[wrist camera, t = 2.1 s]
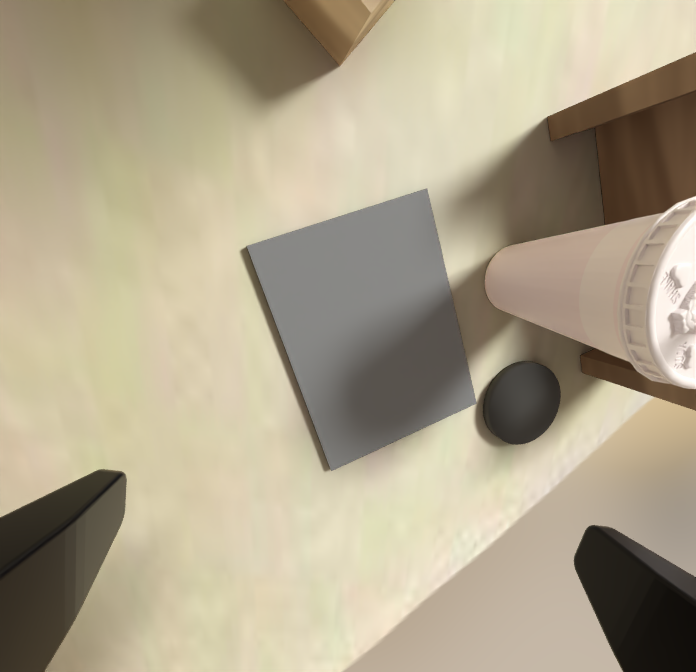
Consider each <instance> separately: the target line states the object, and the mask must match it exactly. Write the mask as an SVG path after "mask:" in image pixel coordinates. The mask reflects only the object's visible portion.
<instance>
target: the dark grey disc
mask: <svg viewBox="0 0 696 672" xmlns="http://www.w3.org/2000/svg"><path fill="white" fill-rule="evenodd" d="M559 404H560V386H559V382H558V380H557V378H556V376H555V375H554V373H553V372H552V371H551V370H550V369H548V368H547V367H545V366H542V365H540V364H537V363H534V362H529V361H522V362H517V363H514V364H512V365H509V366H508V367H506V368H505V369H503V370H502V371H501V372H500V373H499V374H498V375H497V376H496V377H495V378H494V379H493V381H492V382H491V384H490V386H489V388H488V390H487V392H486V395H485V399H484V405H483V413H484V419H485V422H486V425H487V426H488V428H489V430H490V431H491V432H492V433H493V434H494V435H496V436H497V437H499V438H500V439H501V440H503V441H505V442H507V443H510V444H525V443H528V442H531V441H533V440H535V439H536V438H538V437H539V436H540V435H542V434H543V433H544V432H545V431H546V430H547V429H548V427H549V426H550V425H551V423H552V422H553V420H554V418H555V416H556V414H557V412H558V408H559Z"/></svg>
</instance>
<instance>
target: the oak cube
mask: <svg viewBox="0 0 696 672" xmlns="http://www.w3.org/2000/svg"><path fill="white" fill-rule="evenodd" d="M283 1H284V2H285V3H286V4H287V5H288V7H289V8H290V9H291V10H292V11H293V12H294V13H295V15H296V16H297V17H298V18H299V19H300V20H301V22H302V23H303V24H304V25H305V26H306V27H307V29H308V30H309V31H310V32H311V33H312V34H313V35H314V37H315V38H316V39H317V40H318V41H319V42H320V44H321V45H322V46H323V47H324V48H325V49H326V51H327V52H328V53H329V54H330V55H331V56H332V57H333V59H334V60H335V61H336V62H337V63H338V64H339V66H341V64H342V63H343V62H344V61H345V60H346V58H347V57H348V56H349V55H350V54H351V52H352V51H353V50H354V49H355V48H356V46H357V45H358V44H359V43H360V42H361V40H362V39H363V38H364V37H365V36H366V34H367V33H368V32H369V31H370V30H371V29H372V27H373V26H374V25H375V24H376V23H377V21H378V20H379V19H380V18H381V17H382V15H383V14H384V13H385V12H386V11H387V9H388V8H389V7H390V6H391V5H392V3H393V2H394V1H395V0H283Z"/></svg>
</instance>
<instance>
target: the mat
mask: <svg viewBox="0 0 696 672" xmlns="http://www.w3.org/2000/svg"><path fill="white" fill-rule="evenodd" d="M247 249H248V252H249V254H250V257H251V260H252V262H253V265H254V268H255V270H256V273H257V275H258V278H259V281H260V283H261V286H262V289H263V291H264V294H265V297H266V299H267V302H268V305H269V307H270V310H271V313H272V315H273V318H274V321H275V323H276V326H277V329H278V331H279V334H280V337H281V339H282V342H283V345H284V347H285V350H286V353H287V355H288V358H289V360H290V363H291V366H292V368H293V371H294V374H295V376H296V379H297V382H298V384H299V387H300V390H301V392H302V395H303V398H304V400H305V403H306V406H307V408H308V411H309V414H310V416H311V419H312V422H313V424H314V427H315V430H316V432H317V435H318V438H319V440H320V443H321V445H322V448H323V451H324V453H325V456H326V459H327V461H328V464H329V467H330V469H331V471H333V470H335V469H337V468H339V467H341V466H343V465H346V464H348V463H350V462H352V461H354V460H356V459H358V458H361V457H363V456H365V455H367V454H369V453H371V452H373V451H376V450H378V449H380V448H382V447H384V446H386V445H388V444H391V443H393V442H395V441H397V440H399V439H401V438H403V437H406V436H408V435H410V434H412V433H414V432H416V431H418V430H421V429H423V428H425V427H427V426H429V425H431V424H433V423H436V422H438V421H440V420H442V419H444V418H446V417H448V416H451V415H453V414H455V413H457V412H459V411H461V410H464V409H466V408H468V407H470V406H472V405H474V404H476V399H475V394H474V390H473V386H472V381H471V377H470V373H469V368H468V364H467V359H466V355H465V351H464V346H463V342H462V338H461V333H460V329H459V325H458V320H457V316H456V312H455V307H454V303H453V299H452V294H451V290H450V286H449V281H448V277H447V273H446V268H445V264H444V260H443V255H442V251H441V247H440V242H439V238H438V234H437V229H436V225H435V221H434V216H433V212H432V208H431V203H430V199H429V195H428V190H427V189H424V190H421V191H417V192H414V193H411V194H408V195H405V196H402V197H399V198H396V199H392V200H389V201H386V202H383V203H380V204H377V205H374V206H371V207H367V208H364V209H361V210H358V211H355V212H352V213H349V214H346V215H342V216H339V217H336V218H333V219H330V220H327V221H324V222H321V223H317V224H314V225H311V226H308V227H305V228H302V229H299V230H296V231H292V232H289V233H286V234H283V235H280V236H277V237H274V238H271V239H267V240H264V241H261V242H258V243H255V244H252V245H249V246H247Z"/></svg>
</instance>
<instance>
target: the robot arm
mask: <svg viewBox="0 0 696 672" xmlns="http://www.w3.org/2000/svg"><path fill="white" fill-rule="evenodd" d="M126 482H127V479H126V474H125V473H124V472H122V471H114V470H105V469H101V470H97V471H95V472H93V473H91V474H89V475H87V476H85V477H83V478H80V479H78V480H76V481H74V482H72V483H70V484H68V485H66V486H64V487H62V488H60V489H58V490H56V491H54V492H52V493H50V494H48V495H46V496H44V497H41V498H39V499H37V500H35V501H33V502H31V503H29V504H27V505H25V506H23V507H21V508H19V509H17V510H15V511H13V512H11V513H9V514H7V515H5V516H2V517H0V672H44V671H45V670H46V668H47V666H48V665H49V663H50V661H51V660H52V658H53V656H54V655H55V653H56V651H57V650H58V648H59V646H60V645H61V643H62V641H63V640H64V638H65V636H66V635H67V633H68V631H69V629H70V628H71V626H72V624H73V622H74V621H75V619H76V617H77V615H78V613H79V611H80V609H81V607H82V605H83V603H84V601H85V599H86V597H87V595H88V593H89V591H90V588H91V586H92V584H93V582H94V580H95V578H96V576H97V574H98V572H99V570H100V568H101V566H102V564H103V561H104V559H105V557H106V555H107V553H108V551H109V549H110V547H111V545H112V543H113V541H114V539H115V537H116V534H117V532H118V530H119V528H120V526H121V524H122V521H123V518H124V513H125V500H126ZM574 566H575V570H576V572H577V574H578V577H579V579H580V581H581V583H582V585H583V588H584V590H585V592H586V594H587V596H588V599H589V601H590V603H591V605H592V607H593V610H594V611H595V614H596V616H597V619H598V621H599V623H600V625H601V627H602V629H603V632H604V634H605V636H606V638H607V640H608V643H609V645H610V647H611V649H612V651H613V653H614V655H615V657H616V659H617V661H618V663H619V665H620V667H621V668H622V670H623V672H696V577H694V576H693V575H691V574H689V573H687V572H686V571H684V570H683V569H681V568H679V567H677V566H676V565H674V564H672V563H671V562H669V561H667V560H666V559H664V558H662V557H661V556H659V555H657V554H656V553H654V552H652V551H651V550H649V549H647V548H645V547H644V546H642V545H640V544H639V543H637V542H635V541H634V540H632V539H630V538H628V537H627V536H625V535H623V534H622V533H620V532H618V531H617V530H615V529H613V528H610V527H606V526H597V525H592V526H589V527H588V528H587V529H586V530H585V533H584V535H583V537H582V539H581V542H580V544H579V546H578V549H577V551H576V553H575V556H574Z"/></svg>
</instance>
